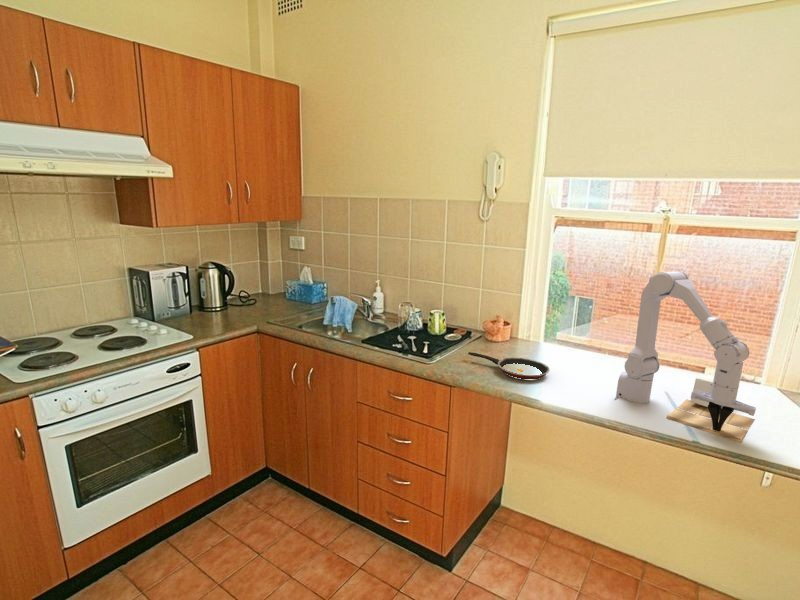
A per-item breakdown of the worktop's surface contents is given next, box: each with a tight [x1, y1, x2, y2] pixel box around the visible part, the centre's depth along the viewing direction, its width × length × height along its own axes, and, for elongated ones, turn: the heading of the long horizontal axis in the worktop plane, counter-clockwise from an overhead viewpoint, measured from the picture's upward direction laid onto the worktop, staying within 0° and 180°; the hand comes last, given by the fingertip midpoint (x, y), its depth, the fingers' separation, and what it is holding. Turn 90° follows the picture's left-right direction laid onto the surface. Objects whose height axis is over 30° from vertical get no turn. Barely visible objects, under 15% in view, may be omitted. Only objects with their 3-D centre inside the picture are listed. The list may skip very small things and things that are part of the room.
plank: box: [665, 407, 749, 443], centre depth 129 cm, size 18×10×1 cm, turn 43°
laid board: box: [677, 398, 756, 431], centre depth 136 cm, size 18×10×1 cm, turn 43°
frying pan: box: [467, 351, 551, 380], centre depth 170 cm, size 19×32×4 cm, turn 56°
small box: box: [690, 377, 723, 408], centre depth 141 cm, size 8×6×10 cm
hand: (716, 429), depth 125 cm, fingers closed, pressing on plank
